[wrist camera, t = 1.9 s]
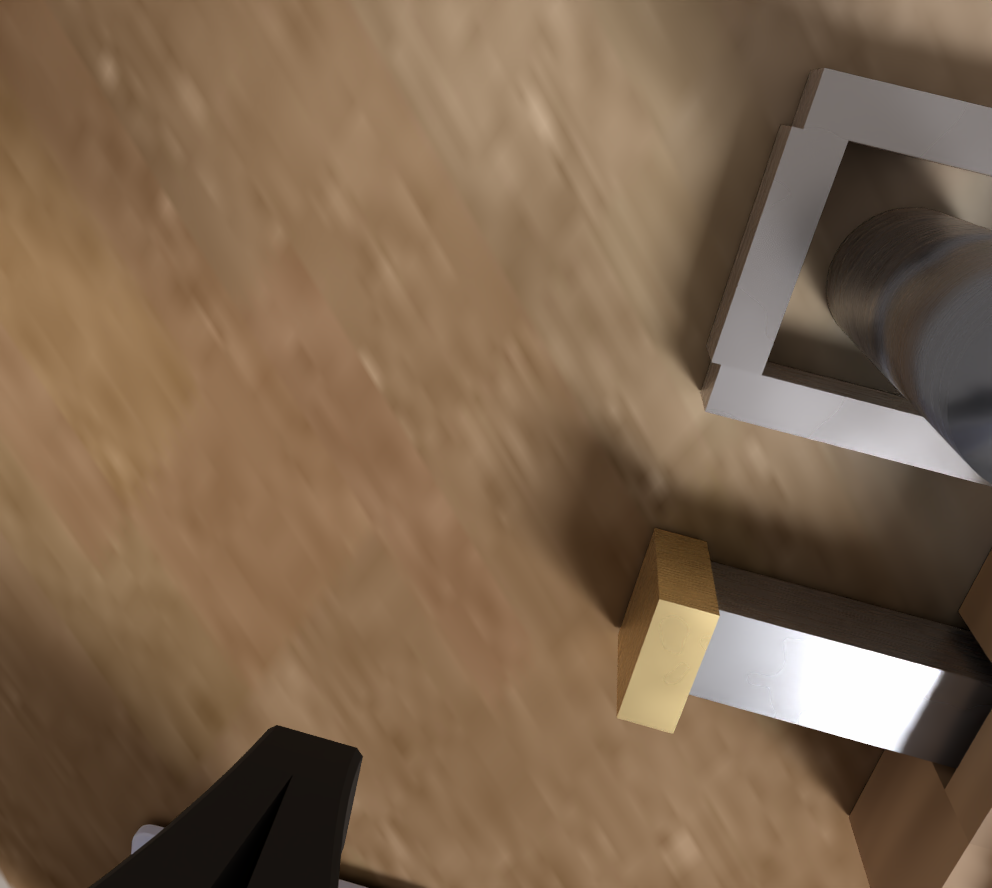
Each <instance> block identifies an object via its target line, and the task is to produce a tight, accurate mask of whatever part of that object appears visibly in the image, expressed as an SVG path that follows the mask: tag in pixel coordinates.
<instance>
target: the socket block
mask: <svg viewBox="0 0 992 888" xmlns="http://www.w3.org/2000/svg"><path fill="white" fill-rule="evenodd" d="M958 612H959V613H960V615H961V617H962V618H963V620H964V621H965V623H966V624H967V626H968V627H969V629H970V630H971V632H972V634H973V635H974V637H975V638H976V640H977V641H978V643H979V644H980V646H981V647H982V649H983V650H984V652H985V654H986V655H987V657H988V658H989V660H990V661H991V663H992V549H991V551H990V553H989V555H988V557H987V558H986V560H985V562H984V564H983V566H982V568H981V570H980V572H979V573H978V575H977V577H976V579H975V581H974V583H973V585H972V587H971V588H970V590H969V592H968V594H967V596H966V598H965V600H964V602H963V604H962V605H961V607H960V609H959V611H958ZM849 820H850V823H851V826H852V830H853V833H854V836H855V839H856V842H857V846H858V849H859V852H860V855H861V859H862V862H863V865H864V868H865V872H866V875H867V878H868V881H869V885H870V888H992V709H991V711H990V713H989V714H988V716H987V718H986V720H985V721H984V723H983V725H982V726H981V728H980V730H979V732H978V733H977V735H976V737H975V738H974V740H973V742H972V744H971V745H970V747H969V749H968V750H967V752H966V754H965V756H964V757H963V759H962V761H961V762H960V764H959V766H958V768H957V769H956V768H952V767H949V766H945V765H942V764H938V763H934V762H931V761H927V760H924V759H920V758H916V757H913V756H909V755H906V754H902V753H898V752H895V751H891V750H888V749H885V750H884V752H883V754H882V756H881V758H880V760H879V762H878V763H877V765H876V767H875V769H874V771H873V773H872V775H871V777H870V778H869V780H868V782H867V784H866V786H865V788H864V790H863V792H862V793H861V795H860V797H859V799H858V801H857V803H856V805H855V807H854V809H853V810H852V812H851V814H850V816H849Z"/></svg>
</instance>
